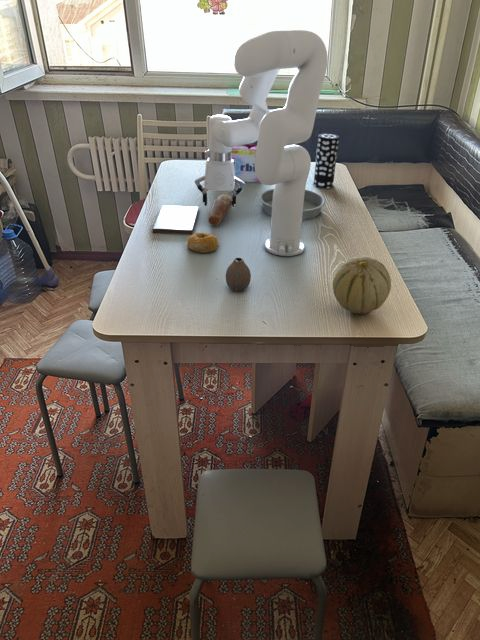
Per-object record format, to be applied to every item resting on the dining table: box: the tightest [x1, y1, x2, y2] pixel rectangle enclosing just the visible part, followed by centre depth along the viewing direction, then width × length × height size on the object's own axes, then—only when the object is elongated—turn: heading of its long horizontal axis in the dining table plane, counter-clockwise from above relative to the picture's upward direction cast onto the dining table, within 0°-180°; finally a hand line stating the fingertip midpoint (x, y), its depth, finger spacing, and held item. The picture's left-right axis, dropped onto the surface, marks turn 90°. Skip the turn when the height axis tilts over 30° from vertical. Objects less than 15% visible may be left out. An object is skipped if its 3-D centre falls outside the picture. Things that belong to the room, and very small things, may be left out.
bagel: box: [186, 232, 219, 254], centre depth 166 cm, size 10×11×5 cm
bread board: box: [152, 204, 199, 235], centre depth 184 cm, size 22×13×2 cm, turn 0°
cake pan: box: [258, 188, 326, 221], centre depth 197 cm, size 25×25×4 cm
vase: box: [225, 257, 252, 293], centre depth 144 cm, size 7×7×9 cm
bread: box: [207, 193, 232, 227], centre depth 187 cm, size 6×19×6 cm, turn 170°
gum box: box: [231, 143, 261, 183], centre depth 222 cm, size 24×8×14 cm, turn 88°
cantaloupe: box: [332, 255, 392, 315], centre depth 136 cm, size 15×15×15 cm
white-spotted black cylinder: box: [313, 133, 340, 190], centre depth 218 cm, size 8×8×20 cm
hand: (219, 205), depth 186 cm, fingers open, 9 cm apart
